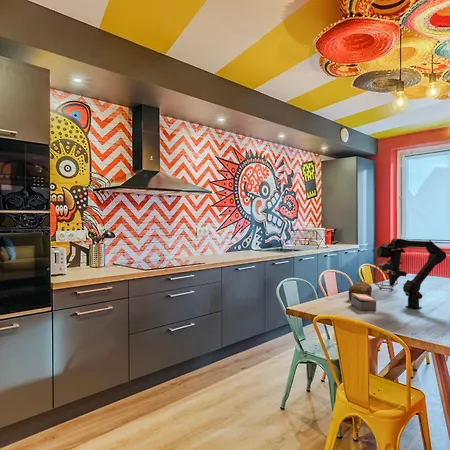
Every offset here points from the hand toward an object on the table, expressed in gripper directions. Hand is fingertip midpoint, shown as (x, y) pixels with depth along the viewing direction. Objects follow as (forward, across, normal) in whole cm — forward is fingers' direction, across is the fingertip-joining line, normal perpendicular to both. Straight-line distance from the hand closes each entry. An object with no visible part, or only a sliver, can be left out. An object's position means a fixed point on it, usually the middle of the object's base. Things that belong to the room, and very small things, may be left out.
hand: (391, 285), depth 205 cm
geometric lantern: (+11, -50, +22) cm, 56 cm away
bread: (+15, -23, -7) cm, 28 cm away
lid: (+10, 0, -15) cm, 18 cm away
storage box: (+15, 0, -15) cm, 21 cm away
